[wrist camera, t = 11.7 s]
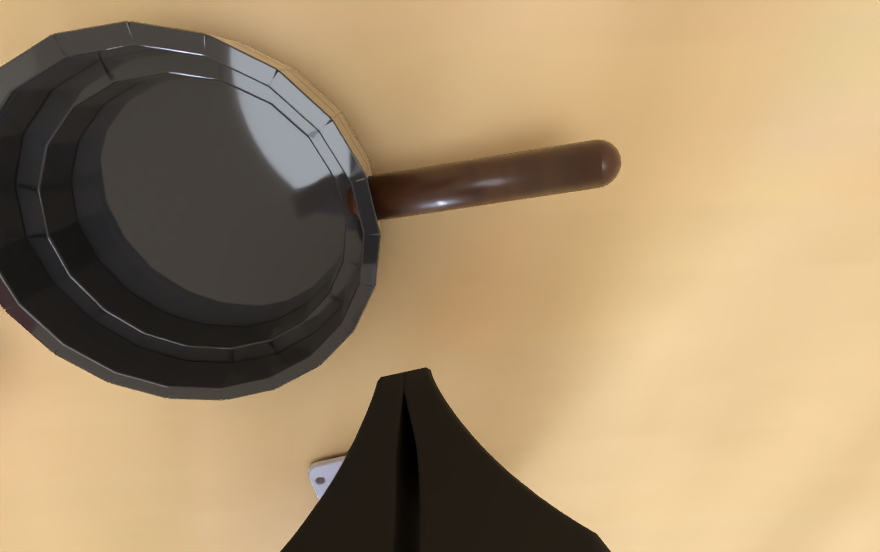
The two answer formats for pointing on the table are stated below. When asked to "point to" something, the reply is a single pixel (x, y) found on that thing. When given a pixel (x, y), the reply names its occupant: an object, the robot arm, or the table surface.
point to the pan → (179, 211)
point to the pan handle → (492, 179)
